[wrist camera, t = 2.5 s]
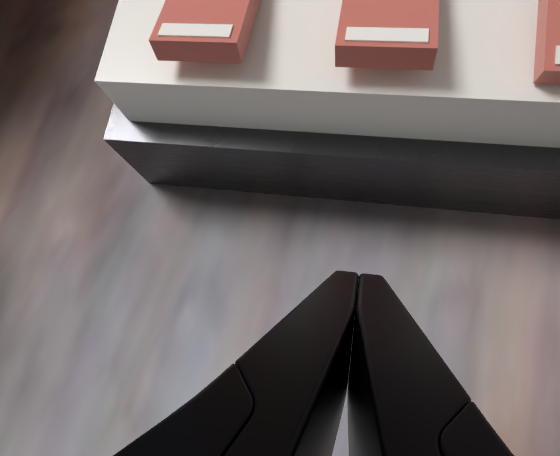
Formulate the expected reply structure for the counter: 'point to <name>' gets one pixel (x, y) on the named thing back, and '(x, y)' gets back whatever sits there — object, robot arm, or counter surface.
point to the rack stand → (344, 166)
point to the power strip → (343, 77)
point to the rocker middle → (387, 34)
